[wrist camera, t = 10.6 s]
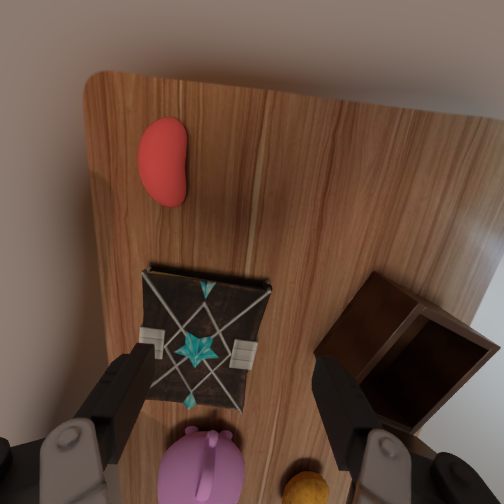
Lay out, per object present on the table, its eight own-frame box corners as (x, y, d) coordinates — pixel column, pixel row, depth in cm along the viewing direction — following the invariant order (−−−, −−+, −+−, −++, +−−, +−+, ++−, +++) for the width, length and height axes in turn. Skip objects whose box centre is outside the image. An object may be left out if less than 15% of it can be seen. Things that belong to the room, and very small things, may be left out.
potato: (269, 498, 49) (273, 547, 42) (293, 453, 45) (302, 500, 38) (303, 503, 50) (313, 552, 43) (330, 460, 46) (344, 507, 39)
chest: (373, 270, 34) (418, 302, 25) (439, 307, 36) (501, 347, 27) (313, 352, 38) (334, 404, 29) (376, 380, 40) (413, 435, 31)
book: (243, 394, 40) (243, 423, 35) (141, 382, 38) (126, 412, 33) (270, 278, 33) (275, 295, 28) (149, 258, 32) (133, 273, 27)
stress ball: (139, 184, 30) (136, 211, 26) (139, 105, 24) (135, 123, 20) (181, 189, 32) (185, 216, 28) (190, 118, 26) (196, 137, 22)
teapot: (231, 486, 47) (227, 591, 35) (159, 479, 45) (130, 586, 33) (255, 414, 41) (260, 510, 29) (174, 402, 40) (145, 500, 28)
